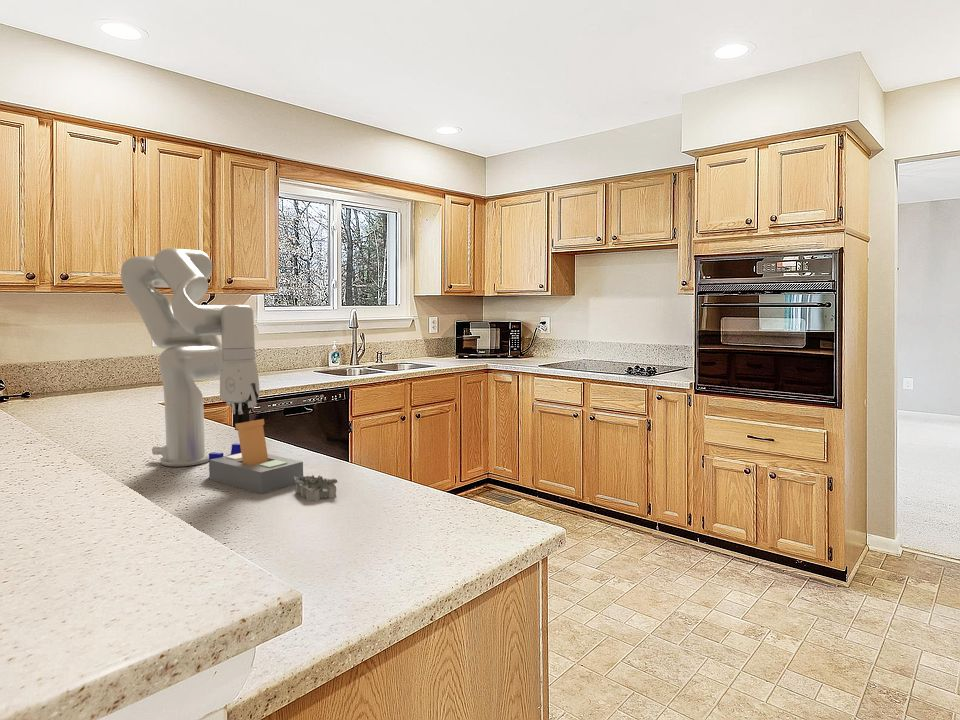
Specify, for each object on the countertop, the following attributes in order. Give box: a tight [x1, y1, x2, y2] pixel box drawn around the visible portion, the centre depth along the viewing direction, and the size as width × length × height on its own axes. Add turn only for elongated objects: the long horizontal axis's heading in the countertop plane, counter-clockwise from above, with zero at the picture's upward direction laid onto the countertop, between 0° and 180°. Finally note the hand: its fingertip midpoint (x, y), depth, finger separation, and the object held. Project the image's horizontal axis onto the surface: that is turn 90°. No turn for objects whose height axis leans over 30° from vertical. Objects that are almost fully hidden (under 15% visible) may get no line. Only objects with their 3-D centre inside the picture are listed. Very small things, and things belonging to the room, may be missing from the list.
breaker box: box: [208, 453, 304, 495], centre depth 154 cm, size 20×12×5 cm, turn 56°
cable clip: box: [208, 442, 241, 477], centre depth 163 cm, size 12×4×6 cm, turn 171°
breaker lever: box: [234, 418, 268, 465], centre depth 154 cm, size 2×6×12 cm, turn 145°
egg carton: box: [294, 474, 338, 501], centre depth 144 cm, size 11×8×4 cm
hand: (242, 429), depth 156 cm, fingers closed
